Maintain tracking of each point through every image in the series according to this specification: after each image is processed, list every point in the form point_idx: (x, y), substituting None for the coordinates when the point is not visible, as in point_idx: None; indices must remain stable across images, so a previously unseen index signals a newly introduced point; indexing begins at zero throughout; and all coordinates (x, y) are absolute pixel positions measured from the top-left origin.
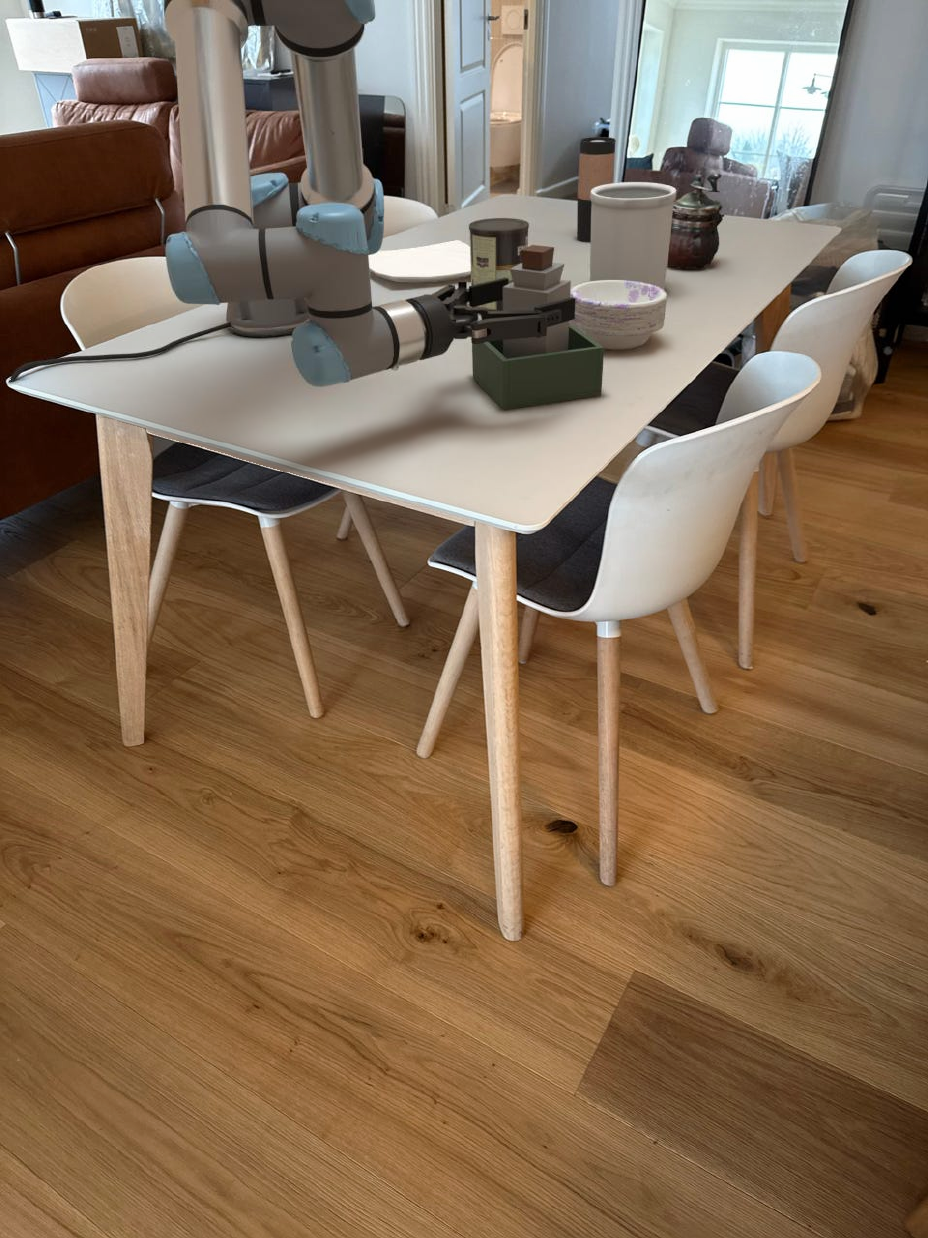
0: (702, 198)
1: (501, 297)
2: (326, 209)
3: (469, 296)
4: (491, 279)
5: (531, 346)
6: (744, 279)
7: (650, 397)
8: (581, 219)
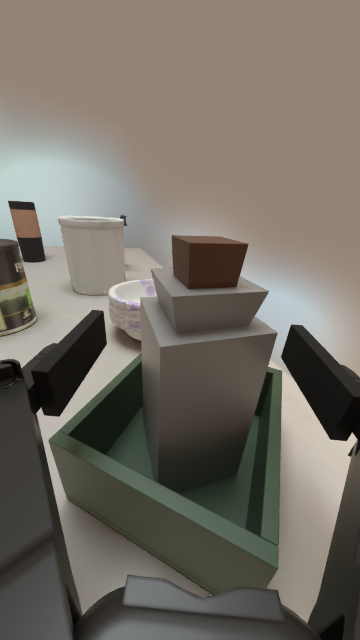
0: None
1: (99, 350)
2: None
3: (40, 395)
4: None
5: (223, 430)
6: (148, 270)
7: (294, 392)
8: (24, 249)
